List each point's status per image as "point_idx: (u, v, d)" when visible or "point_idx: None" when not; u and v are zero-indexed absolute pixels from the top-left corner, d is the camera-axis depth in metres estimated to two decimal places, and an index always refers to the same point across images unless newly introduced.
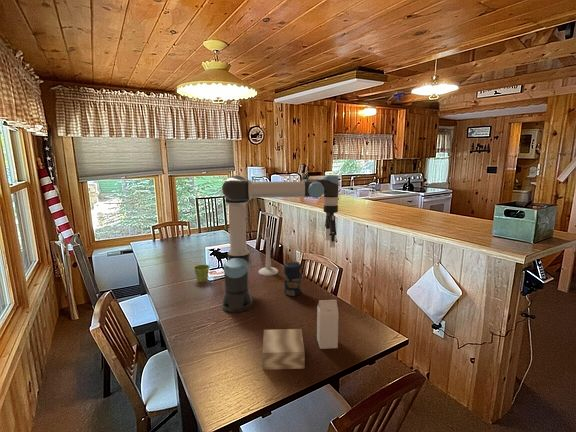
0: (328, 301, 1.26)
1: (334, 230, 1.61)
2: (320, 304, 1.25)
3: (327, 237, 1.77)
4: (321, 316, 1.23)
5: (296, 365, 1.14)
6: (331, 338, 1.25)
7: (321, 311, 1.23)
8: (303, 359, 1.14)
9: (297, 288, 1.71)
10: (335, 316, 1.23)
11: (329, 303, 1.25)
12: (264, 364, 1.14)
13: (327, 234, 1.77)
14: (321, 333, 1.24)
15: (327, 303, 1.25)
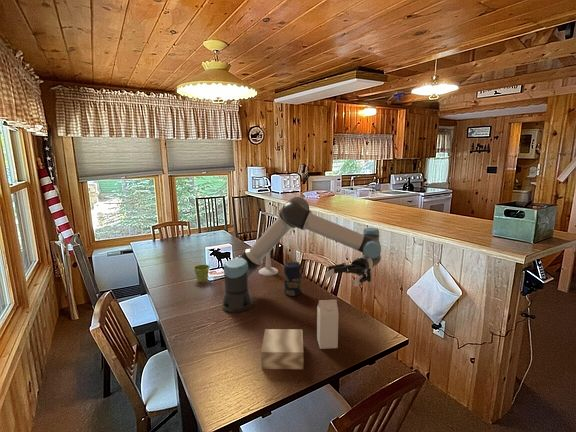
0: (328, 301, 1.26)
1: None
2: (320, 304, 1.25)
3: (328, 274, 1.37)
4: (321, 316, 1.23)
5: (295, 365, 1.14)
6: (331, 338, 1.25)
7: (321, 311, 1.23)
8: (302, 360, 1.13)
9: (297, 288, 1.71)
10: (335, 316, 1.23)
11: (329, 303, 1.25)
12: (263, 363, 1.14)
13: (330, 272, 1.39)
14: (321, 333, 1.24)
15: (327, 303, 1.25)
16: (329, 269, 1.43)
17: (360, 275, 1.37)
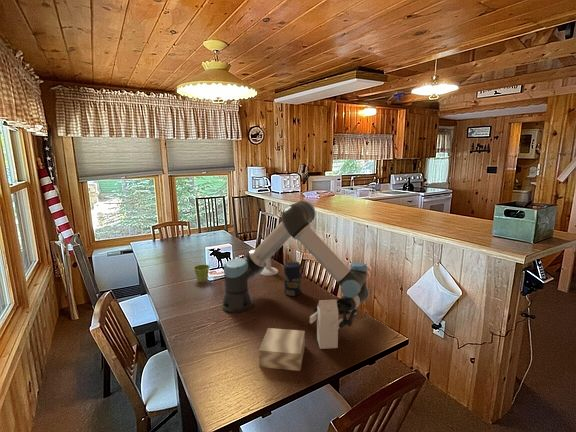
0: (328, 301, 1.26)
1: (351, 321, 1.26)
2: (320, 304, 1.25)
3: (313, 317, 1.28)
4: (321, 316, 1.23)
5: (292, 366, 1.13)
6: (331, 338, 1.25)
7: (321, 311, 1.23)
8: (299, 361, 1.13)
9: (297, 288, 1.71)
10: (335, 316, 1.23)
11: (329, 303, 1.25)
12: (261, 362, 1.15)
13: (315, 316, 1.29)
14: (321, 333, 1.24)
15: (327, 303, 1.25)
16: (315, 311, 1.34)
17: None
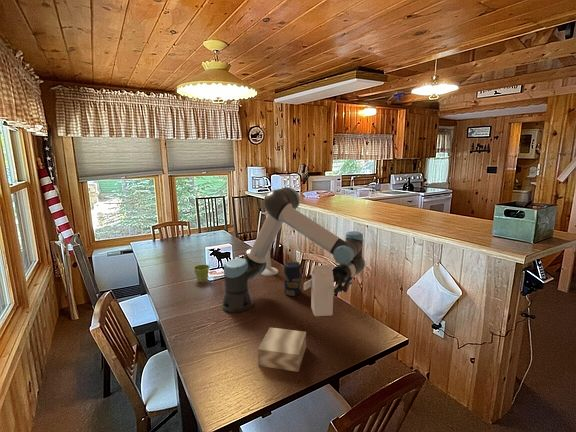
0: (323, 267, 1.20)
1: (347, 288, 1.22)
2: (314, 269, 1.20)
3: (307, 284, 1.23)
4: (316, 281, 1.18)
5: (290, 367, 1.13)
6: (326, 305, 1.20)
7: (316, 276, 1.18)
8: (297, 362, 1.12)
9: (297, 288, 1.71)
10: (330, 281, 1.18)
11: (324, 268, 1.20)
12: (259, 360, 1.16)
13: (310, 283, 1.24)
14: (315, 299, 1.19)
15: (322, 268, 1.20)
16: (309, 278, 1.29)
17: None
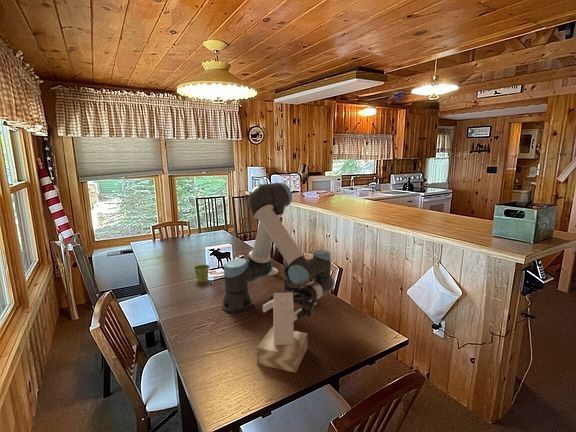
0: (283, 294, 1.17)
1: (311, 311, 1.17)
2: (275, 297, 1.16)
3: (267, 306, 1.20)
4: (275, 310, 1.14)
5: (288, 367, 1.13)
6: (286, 334, 1.16)
7: (275, 304, 1.14)
8: (295, 363, 1.12)
9: (297, 288, 1.71)
10: (290, 310, 1.14)
11: (285, 296, 1.17)
12: (258, 359, 1.16)
13: (270, 304, 1.21)
14: (275, 328, 1.15)
15: (282, 296, 1.17)
16: (271, 299, 1.26)
17: None
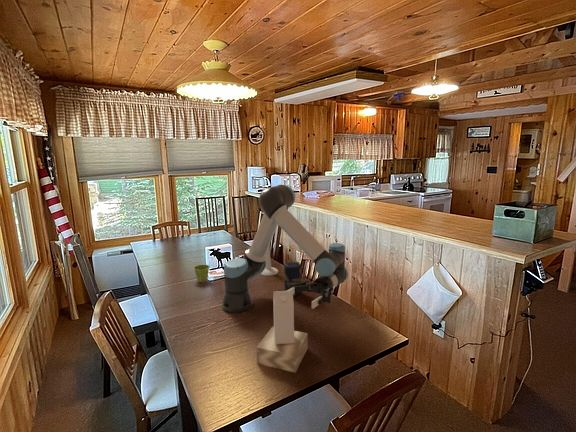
0: (283, 293, 1.18)
1: None
2: (275, 295, 1.17)
3: None
4: (275, 308, 1.15)
5: (287, 367, 1.13)
6: (286, 332, 1.17)
7: (275, 303, 1.16)
8: (294, 363, 1.12)
9: None
10: (290, 307, 1.15)
11: (284, 294, 1.18)
12: (258, 359, 1.17)
13: None
14: (276, 327, 1.16)
15: (282, 294, 1.18)
16: (290, 288, 1.36)
17: (321, 295, 1.31)
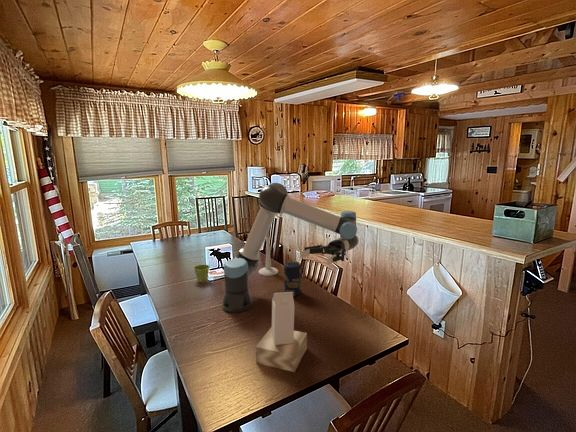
0: (283, 294, 1.17)
1: None
2: (275, 297, 1.16)
3: (303, 254, 1.40)
4: (276, 310, 1.14)
5: (286, 367, 1.13)
6: (286, 333, 1.17)
7: (276, 304, 1.14)
8: (293, 363, 1.12)
9: (297, 288, 1.71)
10: (290, 309, 1.15)
11: (285, 296, 1.17)
12: (257, 358, 1.17)
13: (305, 252, 1.41)
14: (276, 328, 1.15)
15: (282, 296, 1.17)
16: (305, 250, 1.46)
17: None
